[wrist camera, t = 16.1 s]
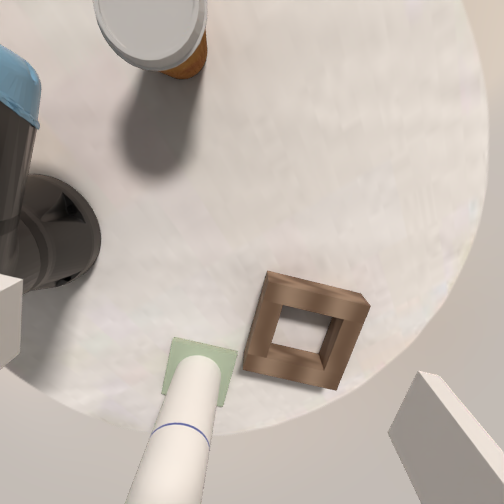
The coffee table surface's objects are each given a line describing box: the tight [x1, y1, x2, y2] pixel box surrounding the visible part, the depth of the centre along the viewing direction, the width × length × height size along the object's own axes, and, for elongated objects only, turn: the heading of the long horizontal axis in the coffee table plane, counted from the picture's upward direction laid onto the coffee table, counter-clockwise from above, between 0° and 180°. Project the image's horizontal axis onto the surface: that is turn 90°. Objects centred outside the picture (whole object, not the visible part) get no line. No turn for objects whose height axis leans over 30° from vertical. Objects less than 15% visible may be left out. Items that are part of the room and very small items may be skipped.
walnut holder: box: [243, 271, 371, 390], centre depth 45 cm, size 14×14×4 cm
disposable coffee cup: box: [93, 0, 207, 79], centre depth 31 cm, size 10×10×12 cm
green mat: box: [161, 337, 238, 407], centre depth 49 cm, size 10×10×1 cm
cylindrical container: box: [125, 355, 221, 504], centre depth 36 cm, size 7×7×25 cm
